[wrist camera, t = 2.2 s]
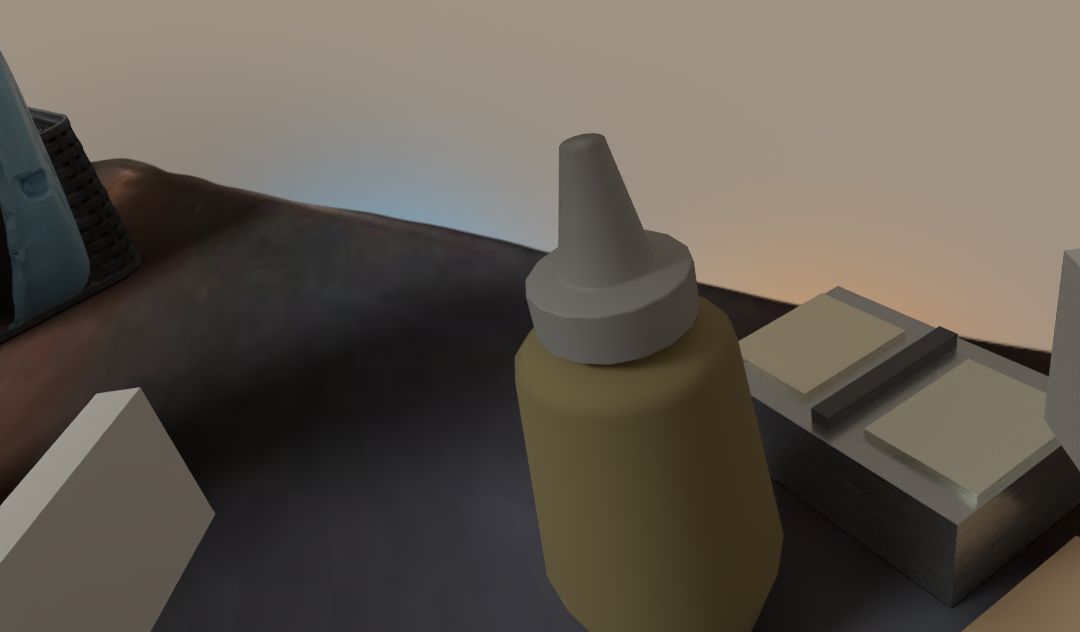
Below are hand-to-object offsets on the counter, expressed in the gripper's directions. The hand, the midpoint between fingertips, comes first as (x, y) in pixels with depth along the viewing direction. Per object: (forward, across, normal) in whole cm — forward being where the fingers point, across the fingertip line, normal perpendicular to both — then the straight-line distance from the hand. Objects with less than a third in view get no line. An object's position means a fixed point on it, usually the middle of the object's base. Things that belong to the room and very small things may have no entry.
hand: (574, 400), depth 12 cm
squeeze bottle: (+10, 0, -18) cm, 21 cm away
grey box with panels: (+17, +9, -18) cm, 26 cm away
